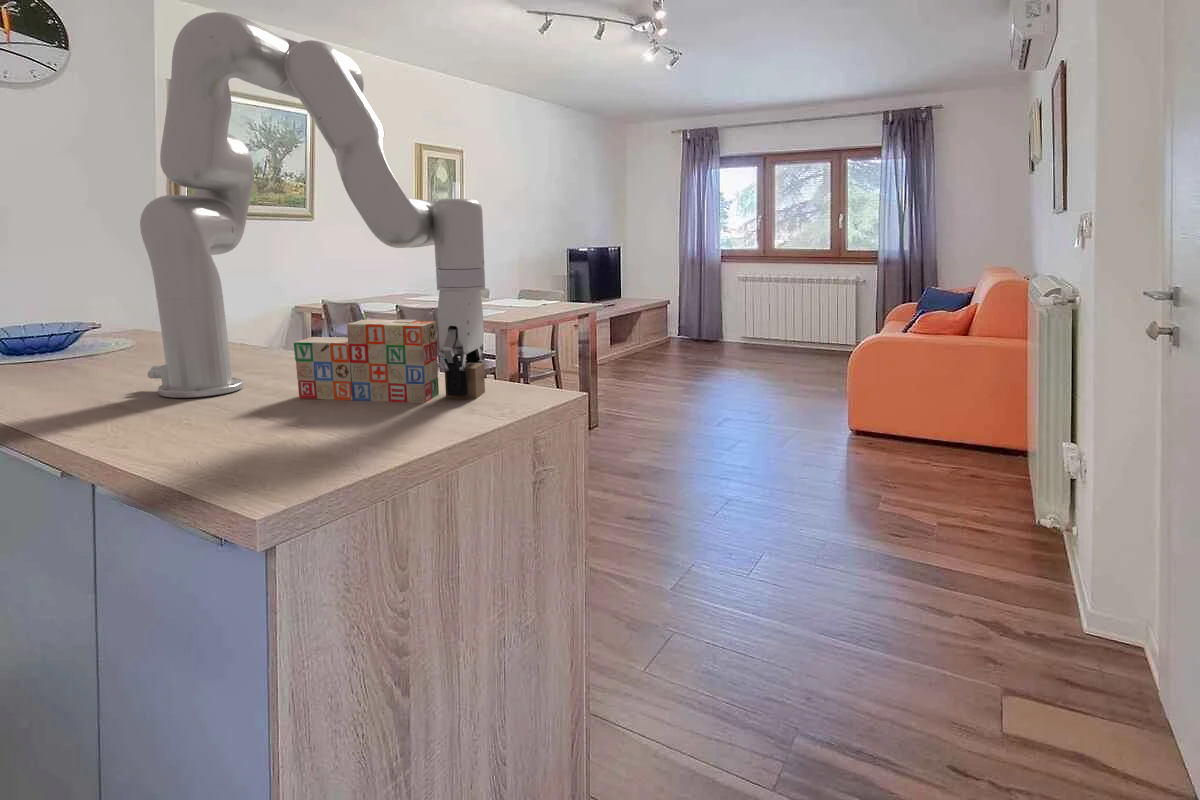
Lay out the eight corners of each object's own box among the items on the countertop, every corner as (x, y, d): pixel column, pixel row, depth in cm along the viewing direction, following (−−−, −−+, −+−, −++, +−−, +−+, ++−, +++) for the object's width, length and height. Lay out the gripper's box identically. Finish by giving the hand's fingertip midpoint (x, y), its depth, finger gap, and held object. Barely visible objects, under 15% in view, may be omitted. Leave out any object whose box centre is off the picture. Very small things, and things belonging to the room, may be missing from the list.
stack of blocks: (297, 399, 119) (290, 322, 116) (317, 391, 125) (311, 318, 123) (426, 403, 116) (422, 324, 114) (440, 395, 122) (436, 319, 120)
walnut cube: (446, 398, 120) (444, 367, 118) (455, 392, 124) (454, 362, 123) (476, 399, 119) (475, 368, 118) (485, 392, 124) (483, 362, 123)
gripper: (455, 276, 126) (459, 379, 130) (417, 283, 110) (424, 401, 113) (498, 277, 125) (501, 380, 129) (467, 284, 109) (472, 402, 113)
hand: (465, 389), depth 121 cm, fingers open, 7 cm apart
